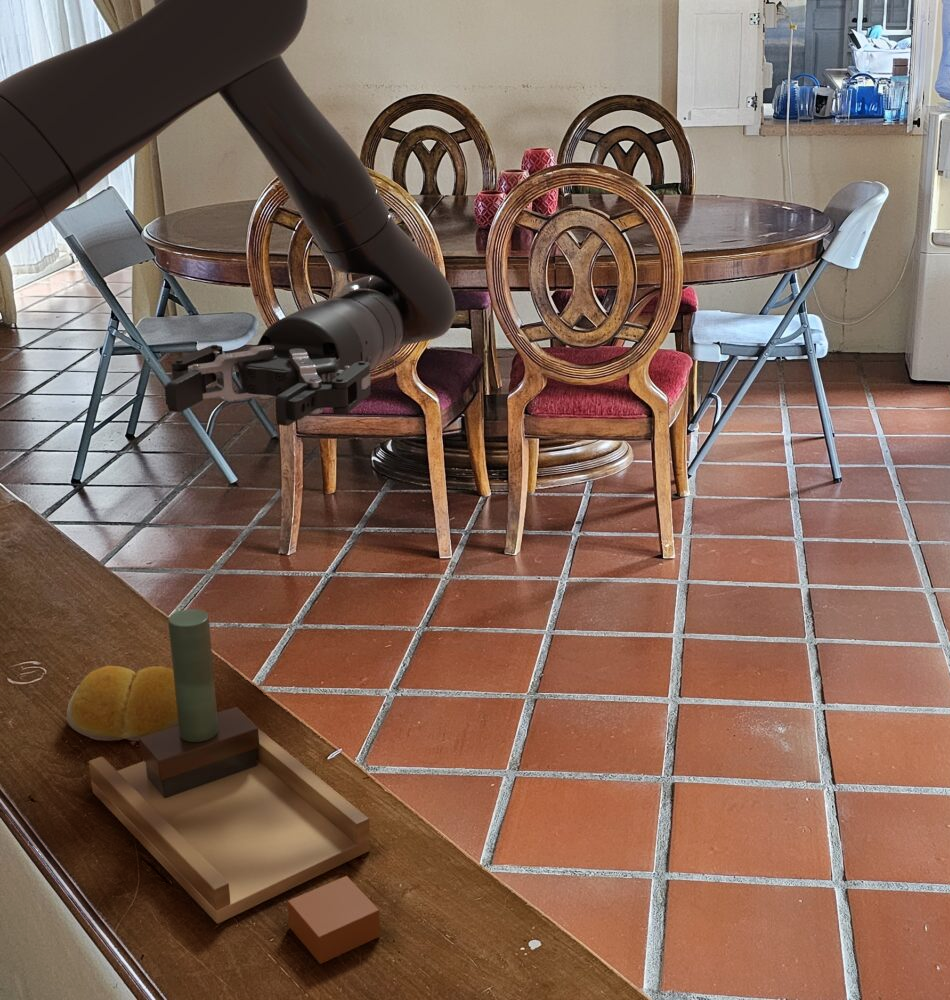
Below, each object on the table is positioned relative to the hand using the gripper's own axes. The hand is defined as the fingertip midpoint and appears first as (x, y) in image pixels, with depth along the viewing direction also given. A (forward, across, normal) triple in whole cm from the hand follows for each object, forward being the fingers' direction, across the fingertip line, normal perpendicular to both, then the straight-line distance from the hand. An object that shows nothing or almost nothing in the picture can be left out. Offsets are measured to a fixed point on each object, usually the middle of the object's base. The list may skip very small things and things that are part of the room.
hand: (225, 405), depth 92 cm
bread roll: (+4, -8, +25) cm, 26 cm away
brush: (+10, +2, +24) cm, 26 cm away
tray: (+14, +6, +25) cm, 29 cm away
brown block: (+22, +17, +25) cm, 37 cm away
